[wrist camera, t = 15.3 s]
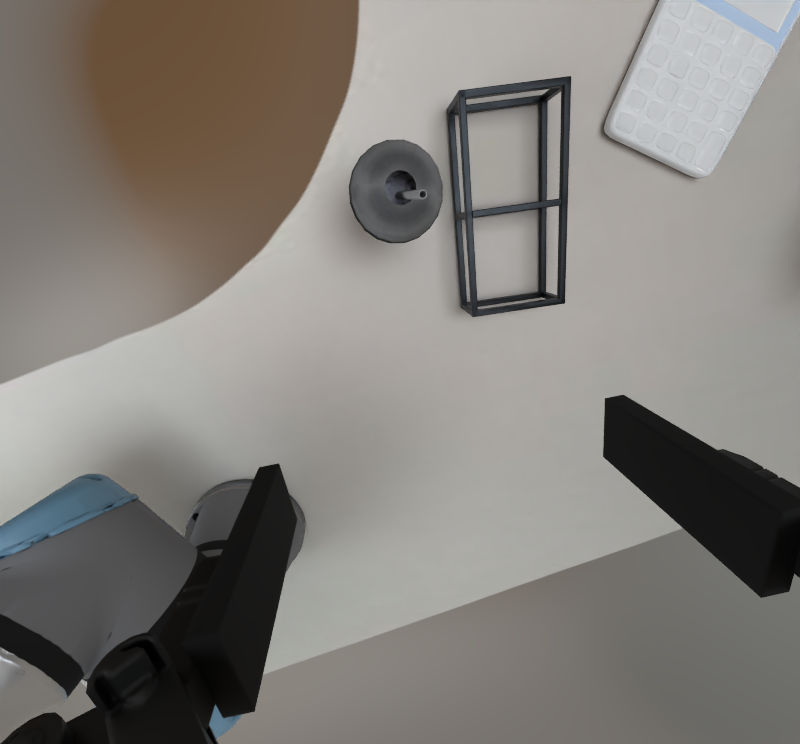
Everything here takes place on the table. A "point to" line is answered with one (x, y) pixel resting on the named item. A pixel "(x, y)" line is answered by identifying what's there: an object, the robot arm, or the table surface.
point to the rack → (462, 109)
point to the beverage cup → (395, 191)
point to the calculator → (697, 78)
